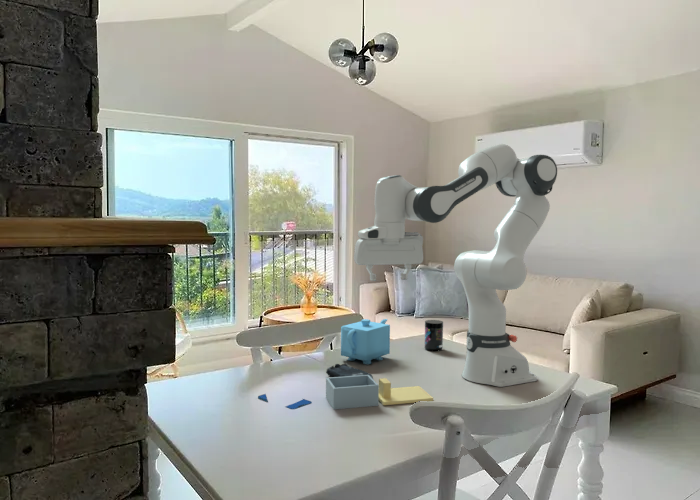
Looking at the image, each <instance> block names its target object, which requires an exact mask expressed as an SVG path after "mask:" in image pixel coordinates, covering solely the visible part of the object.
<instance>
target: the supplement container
mask: <svg viewBox="0 0 700 500" xmlns="http://www.w3.org/2000/svg"><path fill="white" fill-rule="evenodd" d="M443 339H444V321H443V320H439V319H427V320H426V319H425V321H424V349H425V351H429V352H440V351H442V350H443V348H444V347H443V342H444V340H443Z"/></svg>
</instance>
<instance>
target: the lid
mask: <svg viewBox="0 0 700 500" xmlns="http://www.w3.org/2000/svg"><path fill="white" fill-rule="evenodd" d="M378 385H379V400H378V402H380V403H381V405H382V406H390V405H391V406H392V405H402V404H413V403H415V402H416V403H419V402H418V401H427V402H433V401H434V397H433V396H431V394H429V393H428V392H427V391H426V390H425V389H424V388H422V387H421V386H419V385H416V386H415V385H414V386H402V387H392V386H391V385H392V383H391V381H390V380H388V379H387V377H383V378H379V379H378Z"/></svg>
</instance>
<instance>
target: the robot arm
mask: <svg viewBox="0 0 700 500" xmlns="http://www.w3.org/2000/svg"><path fill="white" fill-rule="evenodd" d="M457 174H458V177H457V178H455V179H453V180H452V181H450V182H448V183H446V184H445V185H432V186H427V187H426V186H425V187H424V186H423V187H418V186H416V185H414V184H412V183H411V182H409V181H408V180H407V179H405V178H404V176H403V175H400V174H397V175H390V176H383V177H381V178H379V179H378V180H377V182H376V183H375V189H374V210H375V216H374V219H373V220H374V221H373V222H374V223H373V225H372V226H369V227H366V228H363V229H360V230H359V231H357V232H358V233H357V236H358V238H359V239H357V240H356V242H355V245H354V246H355V247H354V254H353V261H354V263H355V264H356V265H358V266H365V269H366V270H367V272H368V274H369V281H371V282H373V281H377V274H376V273H374V272H373V270H372V269H374V266H378V265H379V266H380V265H383V266H384V265H404V266H403V267H404V268H405V269H404V271H403V272H401V273H400V280H401V281H407V280H408V276H409V275H408V274H409V273H410V271H411V269H412V265H421V264H422V263H423V261H424V249H423V244H424V236H423V235H422V234H421V233H419V232H418V231H417V232H416V231H415V232H409V231H407V232H406V230H405V229H406V228H405V227H406V220H409V221H416V222H427V223H432V224H436V223H439V222H442V221H443V220H445V219H446V218H447V217H448V216H449V215H450V213H451V212H452V211H453V209H454V208H456V206H457V205H459V204H460V203H463V201H465V200H467V199H468V198H470V197H472V196H473V195H475V194H476V193H478V192H479V191H482V190H485V189H487V188H489V187H491V186H492V185H494V184H495V186H496V189H498V191H499V192H500V193H501V194H502V195H504V196H505V197H510V198H511V197H514V198H515V200H514V201H513V205H512V206H511V207H510V209H508V211H507V212H506V214H505V215H504V216H503V218H502V219H501V221H500V222H499V223H498V225H497V226H496V228H495V229H494V231H493V237H494V240H495V243H496V244H495V245H494V247H493V248H492V249H490V251H487V250H477V249H474V250H468V251H463V252H460V253H459V255H458V256H457V257H456V258H455V261H454V264H453V269H454V273H455V276H456V277H457V279H458V280H459V281H460V283H461V284H462V287H463V289H464V293H465V296H466V297H465V298H466V301H467V304H468V305H467V306H468V330H467V332H466V357H465V363H464V367H463V370H462V373H461V377H462V378H464V379H465V380H467V381H469V382H473V383H475V384H476V383H477V384H484V385H490V386H494V387H499V388H502V387H508V386H514V385H520V384H524V383H525V384H526V383H532V382H536V381H538V379H537V375H536V374H535V373H534V372H532V371H530V366H529V362H528V359H527V357H526V356H525V355H523V354H522V353H521V352H520V351H519V350H518V349H516V348H515V347H514V346H513V345H512V344H511V342H512V343H517V341H518V337H517V335H514V334H509V333H508V332H506V326H507V325H506V324H507V309H506V306H505V304H504V303H503V302H502V301H501V299H500V298H499V296H498V293H497V290H500V291H510V290H511V291H513V290H517V289H519V288H521V286H523V285H524V284H525V281H526V279H527V275H528V274H527V265H526V263H525V261H524V257H525V253H526V250H527V249H528V248H529V246H530V244H531V243H532V241H533V240H534V238H535V237H536V235H537V234H538V233H539V231H540V229H541V227H542V226H543V225H544V223H545V221H546V219H547V216H548V214H549V211H550V209H551V208H550V207H551V205H550V201H549V200H548V198H547V197H546V195H549V194H550V193H551V192H552V190H553V185H554V184H555V182H556V181H557V178H558V177H557V176H558V166H557V163H556V161H555V160H554V159H553V158H552V157H551V156H549V155H548V154H535V155H532V156H528V157H525V158H522V159H519V158H518V156H517V154H516V152H515V150H514V149H513V148H512V147H511V146H510V145H508V144H503V143H501V144H500V143H499V144H495V145H491V146H489V147H486V148H484V149H481V150H479V151H477V152H475V153H473V154H470V155H469V156H468V157H467V158H466V159H464V160H463V161H462V162H460V164H459V166H458V170H457Z"/></svg>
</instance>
